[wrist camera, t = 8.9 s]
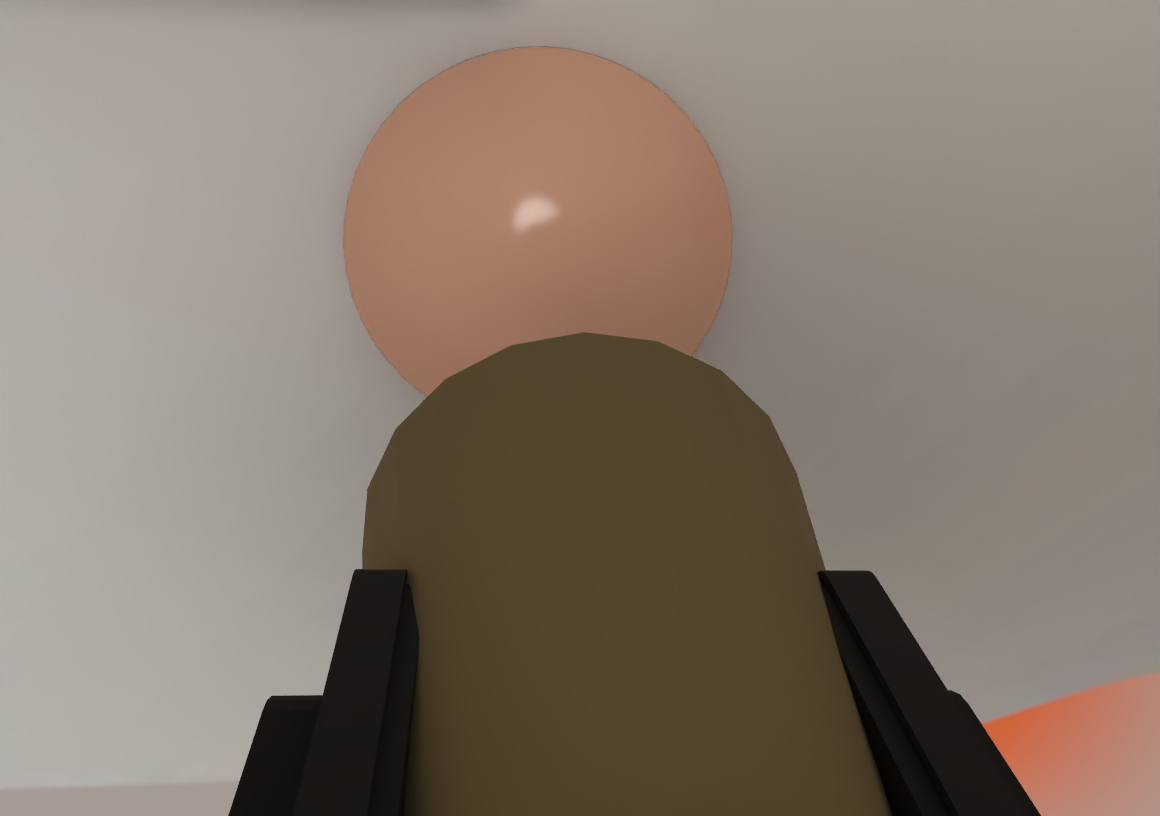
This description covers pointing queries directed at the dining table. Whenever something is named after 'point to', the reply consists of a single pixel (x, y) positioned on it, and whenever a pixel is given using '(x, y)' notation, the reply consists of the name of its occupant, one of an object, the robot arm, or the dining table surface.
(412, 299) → the coaster
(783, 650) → the cork
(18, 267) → the dining table surface
